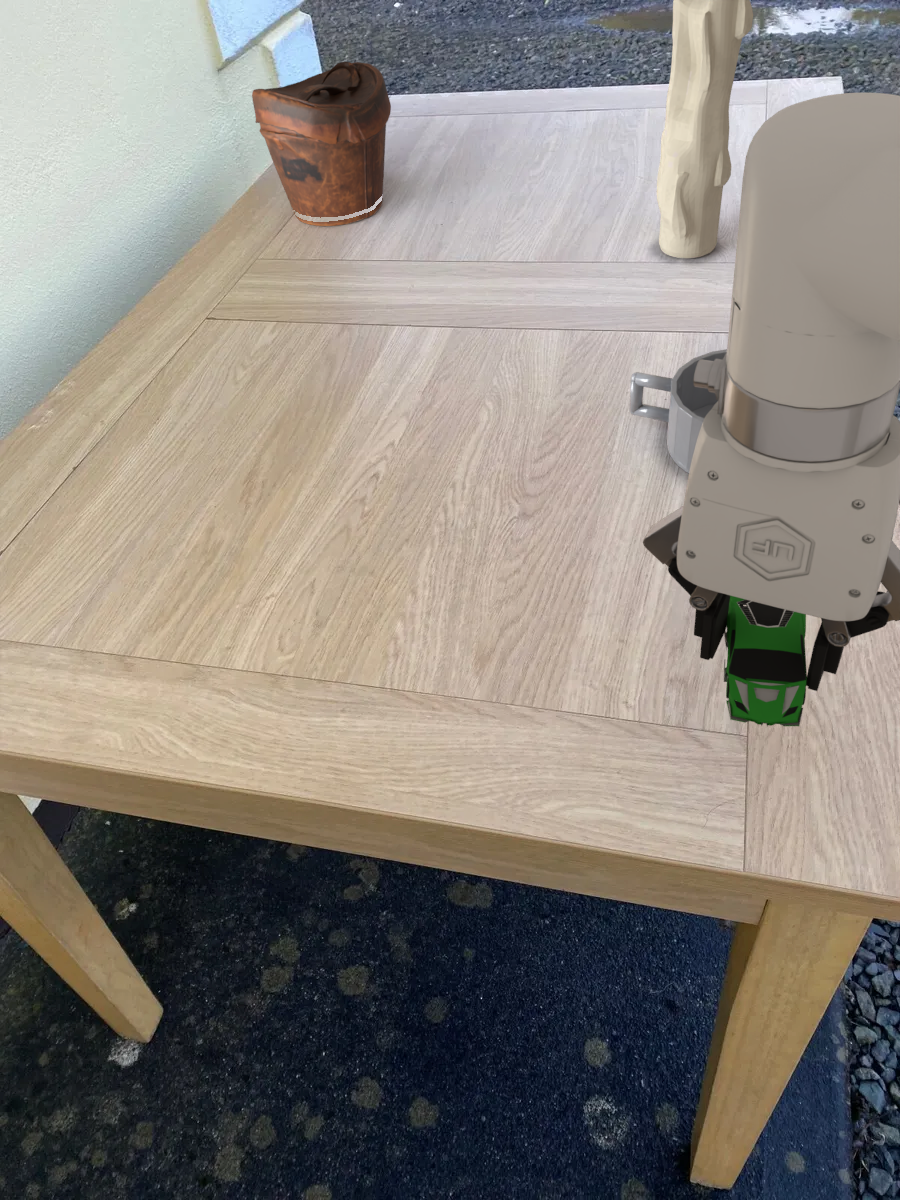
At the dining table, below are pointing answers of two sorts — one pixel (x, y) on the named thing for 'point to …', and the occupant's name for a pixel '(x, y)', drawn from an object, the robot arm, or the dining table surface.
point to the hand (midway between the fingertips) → (764, 655)
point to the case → (328, 140)
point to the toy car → (765, 663)
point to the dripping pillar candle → (698, 122)
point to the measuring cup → (677, 406)
